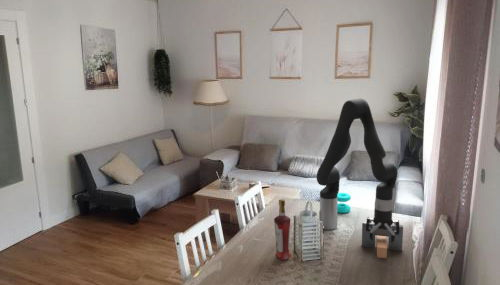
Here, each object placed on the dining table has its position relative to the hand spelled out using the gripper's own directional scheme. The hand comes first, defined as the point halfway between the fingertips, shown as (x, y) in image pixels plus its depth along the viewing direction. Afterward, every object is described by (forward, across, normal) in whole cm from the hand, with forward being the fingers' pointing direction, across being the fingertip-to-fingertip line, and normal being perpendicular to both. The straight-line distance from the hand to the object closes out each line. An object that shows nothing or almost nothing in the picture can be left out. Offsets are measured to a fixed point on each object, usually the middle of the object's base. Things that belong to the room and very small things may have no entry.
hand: (381, 240), depth 168 cm
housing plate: (+7, 0, +7) cm, 10 cm away
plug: (+7, 0, +7) cm, 10 cm away
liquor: (+7, -43, -14) cm, 46 cm away
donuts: (+8, -22, +50) cm, 55 cm away
